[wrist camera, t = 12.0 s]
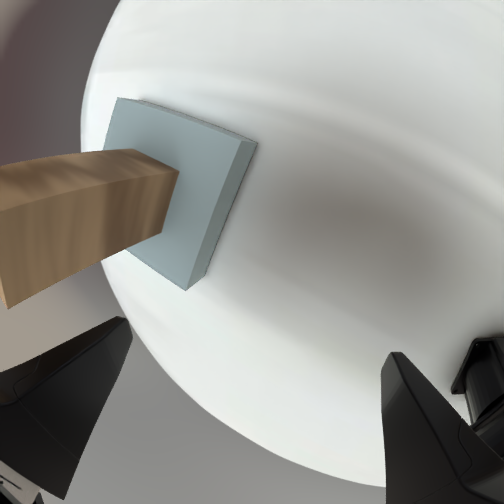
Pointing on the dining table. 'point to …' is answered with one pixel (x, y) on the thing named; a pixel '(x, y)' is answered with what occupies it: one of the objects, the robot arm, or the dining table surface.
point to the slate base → (183, 183)
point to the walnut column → (76, 214)
